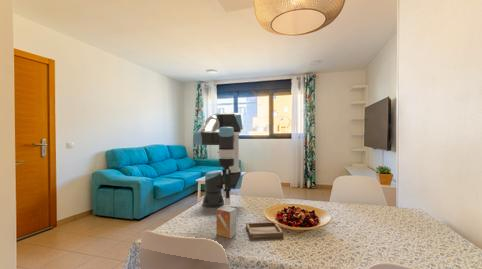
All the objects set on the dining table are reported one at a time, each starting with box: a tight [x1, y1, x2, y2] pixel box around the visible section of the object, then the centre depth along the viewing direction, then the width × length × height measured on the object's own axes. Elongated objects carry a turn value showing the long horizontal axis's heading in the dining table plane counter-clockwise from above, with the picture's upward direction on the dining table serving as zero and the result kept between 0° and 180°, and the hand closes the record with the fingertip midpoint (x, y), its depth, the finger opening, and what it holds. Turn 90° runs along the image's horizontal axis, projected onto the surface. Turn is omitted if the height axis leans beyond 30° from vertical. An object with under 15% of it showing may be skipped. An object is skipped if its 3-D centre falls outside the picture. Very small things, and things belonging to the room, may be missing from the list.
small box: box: [216, 205, 237, 239], centre depth 115 cm, size 8×6×13 cm
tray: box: [245, 221, 284, 241], centre depth 118 cm, size 14×16×2 cm
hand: (226, 200), depth 115 cm, fingers open, 13 cm apart
